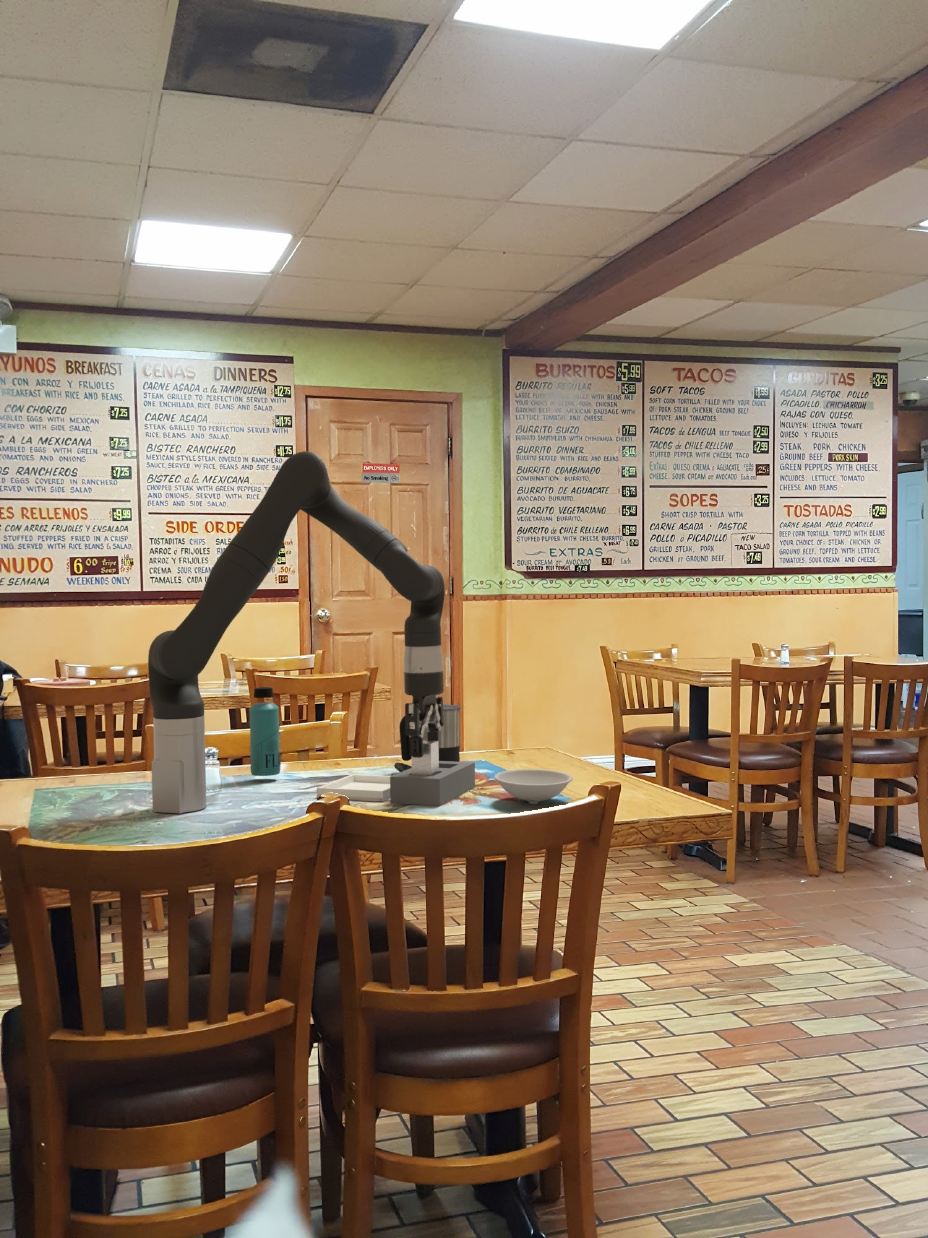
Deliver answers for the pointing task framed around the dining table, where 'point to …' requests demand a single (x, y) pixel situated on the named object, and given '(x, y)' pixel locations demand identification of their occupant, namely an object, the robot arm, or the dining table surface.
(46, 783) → the dining table surface
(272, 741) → the beverage bottle
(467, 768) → the slotted block
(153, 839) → the dining table surface
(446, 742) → the milk frother
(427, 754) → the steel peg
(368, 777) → the tray
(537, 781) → the dish
